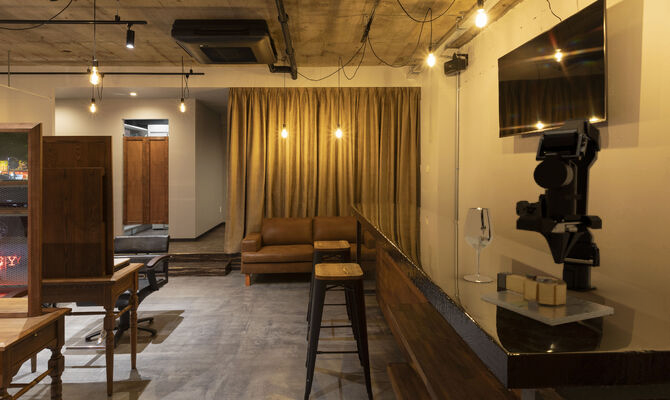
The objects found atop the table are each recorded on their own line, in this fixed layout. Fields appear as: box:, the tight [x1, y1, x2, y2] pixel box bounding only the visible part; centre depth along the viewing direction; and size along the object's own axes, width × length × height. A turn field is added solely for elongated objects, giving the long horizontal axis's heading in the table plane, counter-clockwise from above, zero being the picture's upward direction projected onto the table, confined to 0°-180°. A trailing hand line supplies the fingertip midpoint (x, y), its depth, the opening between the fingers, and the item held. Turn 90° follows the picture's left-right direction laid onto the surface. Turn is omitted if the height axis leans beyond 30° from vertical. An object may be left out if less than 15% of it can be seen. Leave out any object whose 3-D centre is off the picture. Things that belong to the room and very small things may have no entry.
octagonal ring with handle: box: [498, 271, 567, 305], centre depth 86 cm, size 8×15×5 cm, turn 22°
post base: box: [480, 276, 615, 326], centre depth 83 cm, size 18×18×6 cm
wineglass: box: [463, 207, 495, 284], centre depth 106 cm, size 8×8×20 cm
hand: (558, 263), depth 80 cm, fingers closed
